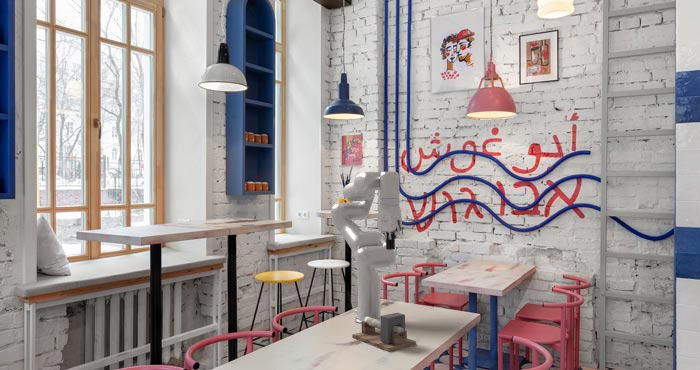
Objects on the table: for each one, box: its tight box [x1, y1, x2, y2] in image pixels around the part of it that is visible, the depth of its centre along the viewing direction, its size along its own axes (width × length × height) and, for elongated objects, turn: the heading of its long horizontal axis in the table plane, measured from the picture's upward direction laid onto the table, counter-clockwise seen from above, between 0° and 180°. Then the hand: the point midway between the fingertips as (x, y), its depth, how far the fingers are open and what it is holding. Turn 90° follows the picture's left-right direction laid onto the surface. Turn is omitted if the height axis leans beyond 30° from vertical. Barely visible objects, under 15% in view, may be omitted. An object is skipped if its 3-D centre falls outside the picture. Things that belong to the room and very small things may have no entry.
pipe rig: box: [351, 317, 417, 353], centre depth 183 cm, size 21×13×7 cm, turn 35°
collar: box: [381, 312, 406, 344], centre depth 179 cm, size 4×8×9 cm, turn 125°
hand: (390, 249), depth 197 cm, fingers closed
